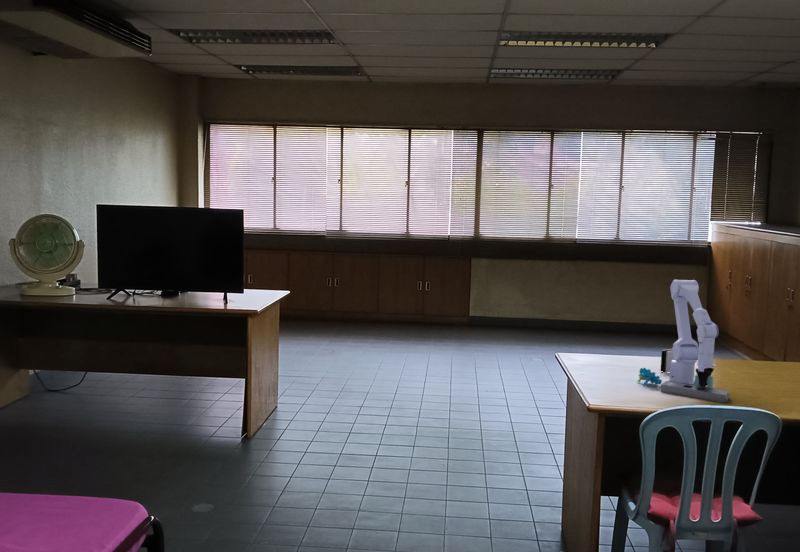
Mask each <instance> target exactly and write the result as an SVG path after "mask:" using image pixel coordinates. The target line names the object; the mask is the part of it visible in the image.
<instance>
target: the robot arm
mask: <svg viewBox="0 0 800 552" xmlns="http://www.w3.org/2000/svg"><path fill="white" fill-rule="evenodd" d="M669 289H670V294H671V295H670V296H671V299H672V300H673V305H674V312H675V321H676V327H677V335H678V339H677V340H676V341H675V342H674V343H673V344H672V349H673V357H674V358H675V360H672V361H671V365H670V373H669V379H668V381H671V382H677V383H683V384H689V385H694V384H695V372H696V375H698V378H699V385H700V386H701V387H708V383H707V380H708V377H709V376H711V377H712V373H713V372H714V370H715V368H716V367H717V365H716V364H714V353H715V341H716V340H715V339H716V338H718V336H719V327H718V325H717V324H716V323H714V322H713V321H712V320H711V317H710V315H709V313H708V310H707V309H705V308H703V306H702V302H701V300H700V297H699V289H700V287H699V283H698V282H697V280H695V279H692V280H691V279H689V280H688V279H673V280H672V282H671V284H670V287H669ZM688 304H689V305H690V307H691V308H692V310H693V313H692V317H693V319H694V322H695V323H696V327H697V329H696V335H697V340H698V341H696V340H694V339H693V337H692V331H691V324H690V315H689V309H688ZM695 365H697V367H698V368H696V369H695Z"/></svg>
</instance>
